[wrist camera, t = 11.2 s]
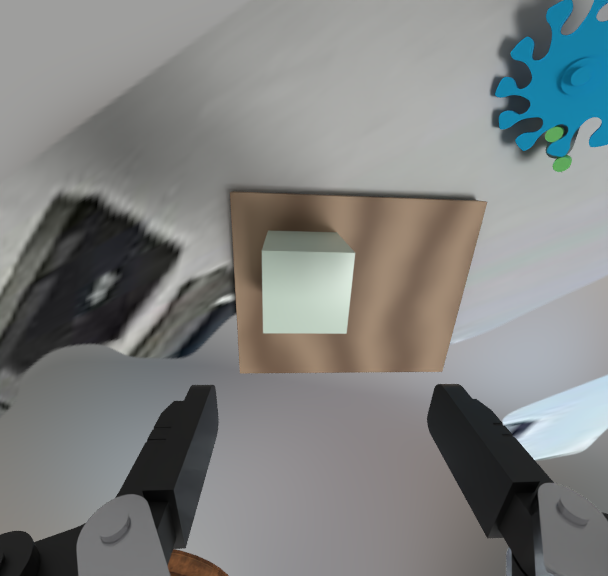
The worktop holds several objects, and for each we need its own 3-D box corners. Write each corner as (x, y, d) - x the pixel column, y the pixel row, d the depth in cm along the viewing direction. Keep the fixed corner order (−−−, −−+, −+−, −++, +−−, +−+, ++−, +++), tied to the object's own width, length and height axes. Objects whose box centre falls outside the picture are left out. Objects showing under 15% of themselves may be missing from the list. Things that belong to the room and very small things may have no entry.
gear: (512, -1, 19) (764, -73, 13) (525, 14, 23) (727, -37, 17) (477, 171, 25) (645, 174, 19) (493, 161, 29) (637, 161, 23)
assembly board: (476, 200, 26) (523, 206, 21) (435, 363, 33) (463, 398, 28) (233, 191, 24) (219, 195, 19) (242, 364, 31) (233, 401, 26)
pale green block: (337, 232, 25) (355, 252, 18) (331, 295, 27) (346, 333, 20) (268, 230, 24) (261, 250, 18) (268, 294, 27) (262, 333, 20)
